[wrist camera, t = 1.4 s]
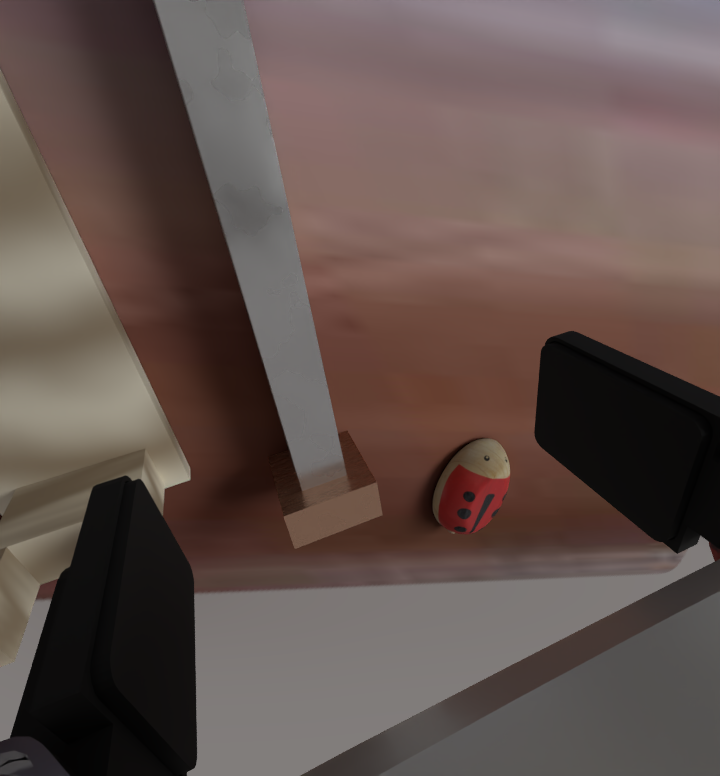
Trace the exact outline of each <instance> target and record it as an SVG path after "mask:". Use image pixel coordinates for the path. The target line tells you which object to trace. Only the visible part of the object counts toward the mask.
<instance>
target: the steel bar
mask: <svg viewBox="0 0 720 776" xmlns="http://www.w3.org/2000/svg"><path fill="white" fill-rule="evenodd" d="M153 4H154V7H155V10H156V14H157V17H158V20H159V24H160V27H161V30H162V33H163V37H164V40H165V43H166V47H167V50H168V53H169V57H170V60H171V63H172V66H173V70H174V73H175V76H176V80H177V83H178V86H179V90H180V93H181V96H182V99H183V103H184V106H185V109H186V113H187V116H188V119H189V123H190V126H191V129H192V132H193V136H194V139H195V142H196V146H197V149H198V152H199V156H200V159H201V162H202V165H203V169H204V172H205V175H206V179H207V182H208V185H209V189H210V192H211V195H212V198H213V202H214V205H215V208H216V212H217V215H218V218H219V222H220V225H221V228H222V231H223V235H224V238H225V241H226V245H227V248H228V251H229V255H230V258H231V261H232V264H233V268H234V271H235V274H236V278H237V281H238V284H239V288H240V291H241V294H242V297H243V301H244V304H245V307H246V311H247V314H248V317H249V321H250V324H251V327H252V330H253V334H254V337H255V340H256V344H257V347H258V350H259V354H260V357H261V360H262V363H263V367H264V370H265V373H266V377H267V380H268V383H269V387H270V390H271V393H272V396H273V400H274V403H275V406H276V410H277V413H278V416H279V420H280V423H281V426H282V429H283V433H284V436H285V439H286V443H287V446H288V449H289V450H288V451H285V452H282V453H279V454H276V455H273V456H270V457H268V459H269V463H270V467H271V471H272V474H273V478H274V482H275V486H276V490H277V493H278V497H279V501H280V505H281V509H282V512H283V516H284V519H285V522H286V525H287V528H288V531H289V533H290V536H291V539H292V542H293V545H294V548H295V549H296V548H299V547H301V546H304V545H306V544H309V543H311V542H314V541H317V540H319V539H322V538H324V537H327V536H330V535H332V534H335V533H337V532H340V531H342V530H345V529H348V528H350V527H353V526H355V525H358V524H361V523H363V522H366V521H368V520H371V519H373V518H376V517H379V516H381V515H382V510H381V504H380V498H379V492H378V486H377V482H376V480H375V478H374V476H373V475H372V473H371V471H370V469H369V468H368V466H367V464H366V462H365V461H364V459H363V457H362V455H361V454H360V452H359V450H358V448H357V447H356V445H355V443H354V441H353V440H352V438H351V436H350V434H349V433H348V431H344V432H341V433H338V432H337V428H336V423H335V419H334V414H333V410H332V405H331V400H330V396H329V391H328V387H327V382H326V378H325V373H324V368H323V364H322V359H321V355H320V350H319V345H318V341H317V336H316V332H315V327H314V323H313V318H312V313H311V309H310V304H309V300H308V295H307V291H306V286H305V281H304V277H303V272H302V268H301V263H300V259H299V254H298V249H297V245H296V240H295V236H294V231H293V227H292V222H291V217H290V213H289V208H288V204H287V199H286V195H285V190H284V185H283V181H282V176H281V172H280V167H279V162H278V158H277V153H276V149H275V144H274V140H273V135H272V130H271V126H270V121H269V117H268V112H267V108H266V103H265V98H264V94H263V89H262V85H261V80H260V76H259V71H258V66H257V62H256V57H255V53H254V48H253V44H252V39H251V34H250V30H249V25H248V21H247V16H246V11H245V7H244V2H243V0H153Z"/></svg>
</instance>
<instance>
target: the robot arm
mask: <svg viewBox="0 0 720 776" xmlns="http://www.w3.org/2000/svg"><path fill="white" fill-rule="evenodd" d="M535 438H536V441H537V443H538V444H539V445H540V446H541V447H542V448H543V449H544V450H545V451H546V452H548V453H549V454H550V455H551V456H553V457H554V458H555V459H556V460H557V461H559V462H560V463H561V464H562V465H564V466H565V467H566V468H567V469H568V470H570V471H571V472H572V473H573V474H574V475H576V476H577V477H578V478H579V479H581V480H582V481H583V482H584V483H585V484H587V485H588V486H589V487H590V488H592V489H593V490H594V491H595V492H596V493H598V494H599V495H600V496H601V497H602V498H604V499H605V500H606V501H607V502H609V503H610V504H611V505H612V506H613V507H615V508H616V509H617V510H618V511H620V512H621V513H622V514H623V515H624V516H626V517H627V518H628V519H629V520H630V521H632V522H633V523H634V524H635V525H637V526H638V527H639V528H640V529H641V530H643V531H644V532H645V533H646V534H648V535H649V536H650V537H651V538H653V539H654V540H656V541H659V542H663V543H665V544H666V545H667V546H668V547H670V548H671V549H672V550H673V551H674V552H676V553H677V554H678V553H680V552H682V551H684V550H686V549H688V548H690V547H692V546H694V545H696V544H697V542H698V540H699V537H700V535H701V536H702V537H704V538H705V539H706V540H708V541H709V546H710V549H711V551H712V554H713V557H714V560H715V562H713V563H712V564H709V565H707V566H705V567H703V568H702V569H699V570H697V571H695V572H694V573H692V574H689V575H688V576H686V577H684V578H682V579H680V580H678V581H676V582H674V583H672V584H670V585H668V586H666V587H664V588H662V589H660V590H658V591H656V592H654V593H652V594H650V595H648V596H646V597H644V598H642V599H640V600H638V601H636V602H634V603H632V604H630V605H629V606H627V607H624V608H622V609H620V610H619V611H617V612H615V613H613V614H611V615H609V616H607V617H605V618H603V619H601V620H599V621H597V622H595V623H593V624H591V625H589V626H587V627H585V628H583V629H581V630H579V631H578V632H575V633H574V634H572V635H570V636H568V637H566V638H564V639H562V640H560V641H558V642H556V643H554V644H552V645H550V646H548V647H546V648H544V649H542V650H540V651H539V652H536V653H534V654H533V655H531V656H529V657H527V658H525V659H523V660H521V661H519V662H517V663H515V664H513V665H511V666H509V667H507V668H505V669H503V670H502V671H500V672H497V673H496V674H494V675H492V676H490V677H488V678H486V679H484V680H482V681H480V682H478V683H476V684H475V685H472V686H470V687H469V688H467V689H465V690H463V691H461V692H459V693H457V694H455V695H453V696H451V697H449V698H447V699H445V700H443V701H442V702H440V703H438V704H436V705H434V706H432V707H430V708H428V709H426V710H424V711H422V712H420V713H419V714H416V715H415V716H413V717H411V718H409V719H407V720H405V721H403V722H401V723H399V724H397V725H395V726H394V727H391V728H389V729H387V730H386V731H384V732H382V733H380V734H378V735H376V736H374V737H372V738H370V739H368V740H366V741H364V742H363V743H360V744H359V745H357V746H355V747H353V748H351V749H349V750H347V751H345V752H343V753H342V754H339V755H338V756H336V757H334V758H332V759H330V760H328V761H327V762H325V763H323V764H321V765H319V766H317V767H315V768H314V769H312V770H310V771H308V772H306V773H305V774H303V775H301V776H720V397H719V396H717V395H715V394H713V393H710V392H708V391H706V390H704V389H701V388H699V387H697V386H695V385H693V384H690V383H688V382H686V381H684V380H682V379H679V378H677V377H675V376H673V375H671V374H668V373H666V372H664V371H662V370H659V369H657V368H655V367H653V366H651V365H648V364H646V363H644V362H642V361H640V360H637V359H635V358H633V357H631V356H628V355H626V354H624V353H622V352H620V351H617V350H615V349H613V348H611V347H609V346H606V345H604V344H602V343H600V342H597V341H595V340H593V339H591V338H589V337H586V336H584V335H582V334H580V333H578V332H574V331H569V332H566V333H563V334H559V335H556V336H553V337H550V338H549V339H548V340H547V341H546V343H545V346H544V347H543V348H542V350H541V358H540V370H539V383H538V395H537V408H536V420H535ZM194 619H195V617H194V578H193V573H192V570H191V567H190V564H189V562H188V561H187V559H186V557H185V555H184V553H183V552H182V550H181V548H180V546H179V545H178V543H177V541H176V539H175V537H174V536H173V534H172V532H171V530H170V529H169V527H168V525H167V523H166V521H165V520H164V518H163V516H162V514H161V512H160V511H159V509H158V507H157V505H156V504H155V502H154V500H153V498H152V496H151V495H150V493H149V491H148V489H147V488H146V486H145V484H144V482H143V481H142V480H141V479H136V480H133V481H132V480H131V478H130V477H128V476H126V475H125V476H122V477H119V478H116V479H112V480H109V481H106V482H103V483H100V484H97V485H95V486H93V488H92V491H91V494H90V498H89V501H88V505H87V508H86V512H85V515H84V519H83V522H82V526H81V530H80V533H79V537H78V540H77V544H76V547H75V551H74V554H73V558H72V561H71V565H70V567H68V568H66V569H65V570H64V571H63V572H62V573H61V574H60V577H59V579H58V581H57V584H56V587H55V591H54V594H53V597H52V601H51V604H50V608H49V611H48V614H47V617H46V620H45V624H44V627H43V630H42V634H41V637H40V640H39V644H38V647H37V650H36V653H35V657H34V660H33V663H32V667H31V670H30V674H29V677H28V680H27V683H26V687H25V690H24V693H23V697H22V700H21V703H20V706H19V710H18V713H17V716H16V720H15V723H14V726H13V730H12V733H11V736H10V738H9V739H7V740H3V741H1V742H0V776H187V772H188V771H190V770H192V769H194V768H195V765H196V760H197V729H196V728H197V726H196V671H195V620H194Z"/></svg>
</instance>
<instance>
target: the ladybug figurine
mask: <svg viewBox="0 0 720 776" xmlns="http://www.w3.org/2000/svg"><path fill="white" fill-rule="evenodd" d="M509 480H510V466H509V461H508V458H507V455H506V453H505V451H504V449H503V448H502V446H501V445H500V444H499V443H498V442H497V441H495V440H493V439H489V438H484V439H479V440H476V441H473V442H471V443H469V444H468V445H466V446H465V447H464V448H462V449H461V450H460V451H459V452H458V453H457V454H456V455H455V456H454V457H453V458H452V459H451V460H450V462H449V463H448V465H447V466H446V468H445V469H444V471H443V473H442V475H441V477H440V479H439V481H438V483H437V486H436V488H435V492H434V496H433V513H434V516H435V518H436V520H437V521H438V522H439V523H440V524H441V525H442V526H443V527H445V528H446V529H448V531H449V532H450V533H459V534H471V533H475V532H477V531H479V530H480V529H482V528H484V527H485V526H486V525H487V524H488V522H489V521H490V520H491V519H492V518H493V517H494V516H495V514H496V513H497V512H498V510H499V508H500V506H501V504H502V502H503V500H504V498H505V496H506V493H507V489H508V485H509Z"/></svg>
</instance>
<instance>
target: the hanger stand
mask: <svg viewBox="0 0 720 776" xmlns="http://www.w3.org/2000/svg"><path fill="white" fill-rule="evenodd" d="M125 475H126V476H128V477H130V478H131V480H132V481H133V480H136V479H141V480H142V481H143V482H144V484H145V486H146V488H147V489H148V491H149V493H150V495H151V496H152V498H153V500H154V502H155V504H156V505H157V507H158V509H159V511H160V512H161V514H162V516H163V504H164V489H165V488H168V487H171V486H174V485H177V484H180V483H183V482H186V481H189V480H190V467H189V465H188V463H187V460H186V458H185V456H184V454H183V452H182V450H181V448H180V446H179V444H178V441H177V439H176V437H175V435H174V433H173V431H172V429H171V427H170V425H169V423H168V420H167V418H166V416H165V414H164V412H163V410H162V408H161V406H160V404H159V401H158V399H157V397H156V395H155V393H154V391H153V389H152V387H151V385H150V383H149V380H148V378H147V376H146V374H145V372H144V370H143V368H142V366H141V364H140V361H139V359H138V357H137V355H136V353H135V351H134V349H133V347H132V345H131V343H130V340H129V338H128V336H127V334H126V332H125V330H124V328H123V326H122V324H121V322H120V319H119V317H118V315H117V313H116V311H115V309H114V307H113V305H112V303H111V300H110V298H109V296H108V294H107V292H106V290H105V288H104V286H103V284H102V282H101V279H100V277H99V275H98V273H97V271H96V269H95V267H94V265H93V263H92V260H91V258H90V256H89V254H88V252H87V250H86V248H85V246H84V244H83V242H82V239H81V237H80V235H79V233H78V231H77V229H76V227H75V225H74V223H73V220H72V218H71V216H70V214H69V212H68V210H67V208H66V206H65V204H64V202H63V199H62V197H61V195H60V193H59V191H58V189H57V187H56V185H55V183H54V180H53V178H52V176H51V174H50V172H49V170H48V168H47V166H46V164H45V162H44V159H43V157H42V155H41V153H40V151H39V149H38V147H37V145H36V143H35V140H34V138H33V136H32V134H31V132H30V130H29V128H28V126H27V124H26V122H25V119H24V117H23V115H22V113H21V111H20V109H19V107H18V105H17V103H16V101H15V98H14V96H13V94H12V92H11V90H10V88H9V86H8V84H7V82H6V79H5V77H4V75H3V73H2V71H1V69H0V514H1V515H2V518H1V520H0V667H2V666H4V665H7V664H10V663H12V662H14V661H15V658H16V655H17V652H18V649H19V646H20V643H21V640H22V638H23V635H24V632H25V628H26V626H27V623H28V620H29V617H30V614H31V610H32V607H33V605H34V602H35V599H36V596H37V593H38V590H39V587H40V585H41V584H44V583H47V582H49V581H52V580H55V579H58V578H59V577H60V574H61V573H62V572H63V571H64V570H65V569H66V568H68V567H70V565H71V561H72V558H73V554H74V551H75V547H76V544H77V540H78V537H79V533H80V530H81V526H82V522H83V519H84V515H85V512H86V508H87V505H88V501H89V498H90V494H91V491H92V488H93V486H95V485H97V484H100V483H103V482H106V481H109V480H112V479H116V478H119V477H122V476H125Z"/></svg>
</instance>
